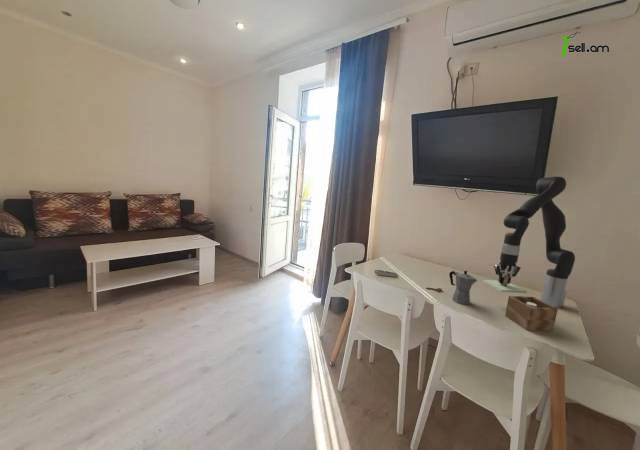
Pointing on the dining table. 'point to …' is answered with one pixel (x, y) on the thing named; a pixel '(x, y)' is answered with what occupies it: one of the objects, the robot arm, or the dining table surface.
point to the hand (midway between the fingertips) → (503, 283)
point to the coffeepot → (462, 287)
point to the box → (531, 313)
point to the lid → (504, 285)
